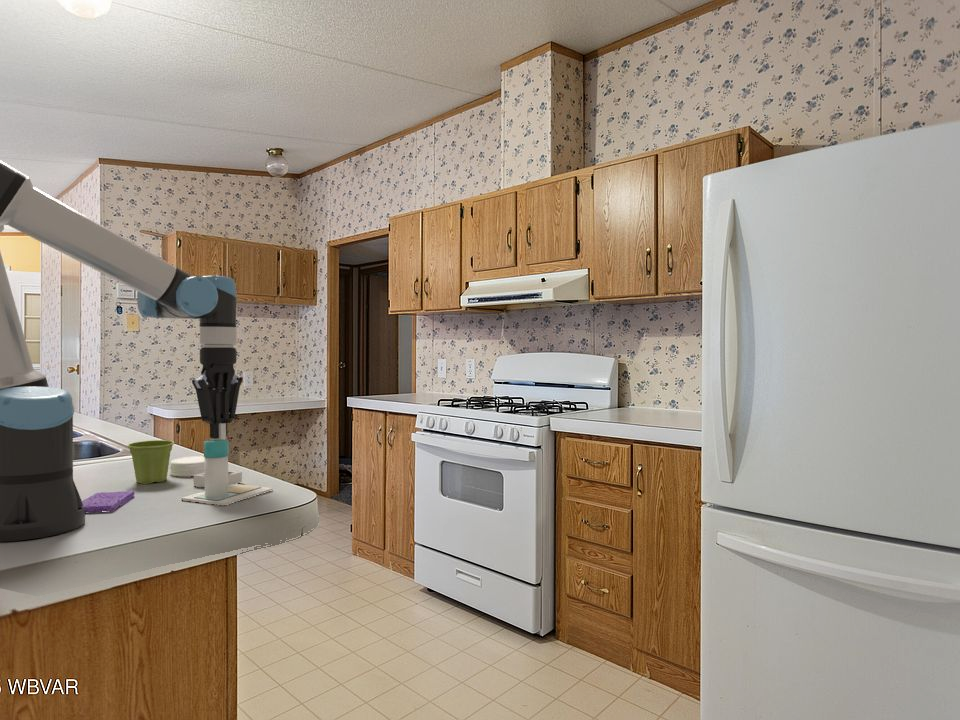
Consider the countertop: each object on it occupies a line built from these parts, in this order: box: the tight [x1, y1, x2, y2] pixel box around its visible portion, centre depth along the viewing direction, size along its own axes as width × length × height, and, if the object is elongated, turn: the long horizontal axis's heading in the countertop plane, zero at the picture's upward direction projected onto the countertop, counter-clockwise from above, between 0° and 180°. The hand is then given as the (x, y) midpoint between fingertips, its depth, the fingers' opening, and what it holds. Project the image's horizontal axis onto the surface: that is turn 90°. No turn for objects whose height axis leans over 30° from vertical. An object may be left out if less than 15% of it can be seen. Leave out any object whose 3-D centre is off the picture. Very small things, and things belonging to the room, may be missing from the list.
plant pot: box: [126, 439, 175, 485], centre depth 142 cm, size 9×9×9 cm
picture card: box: [180, 483, 274, 506], centre depth 129 cm, size 14×11×1 cm
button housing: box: [193, 470, 243, 488], centre depth 139 cm, size 7×7×2 cm
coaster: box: [169, 455, 205, 478], centre depth 152 cm, size 10×10×4 cm
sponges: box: [82, 490, 135, 512], centre depth 121 cm, size 7×13×2 cm, turn 12°
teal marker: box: [203, 439, 230, 498], centre depth 126 cm, size 5×5×11 cm
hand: (218, 452), depth 139 cm, fingers closed
